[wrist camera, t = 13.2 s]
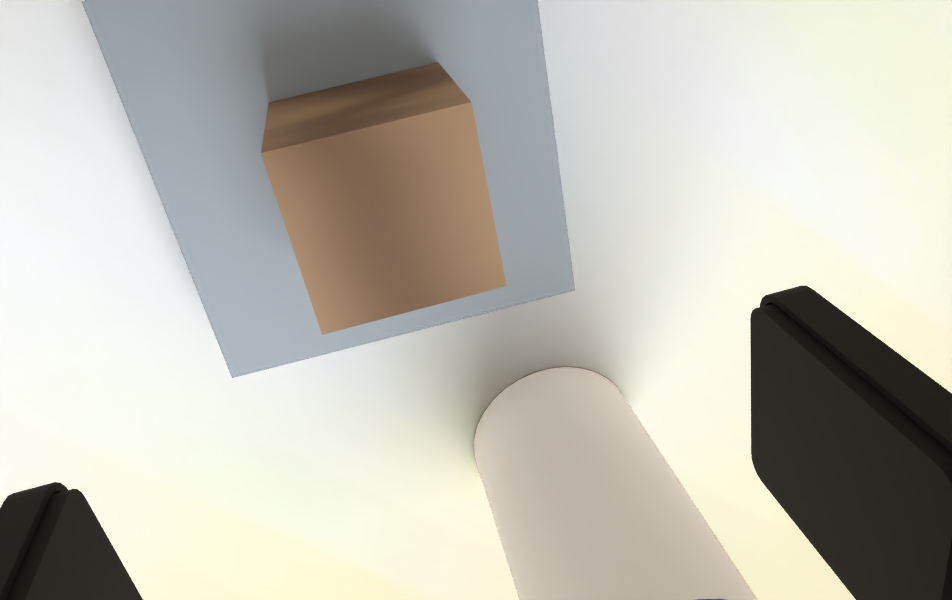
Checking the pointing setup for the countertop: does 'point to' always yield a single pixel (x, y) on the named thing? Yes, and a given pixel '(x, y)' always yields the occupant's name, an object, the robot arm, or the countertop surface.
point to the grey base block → (304, 71)
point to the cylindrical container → (592, 498)
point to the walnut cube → (383, 195)
